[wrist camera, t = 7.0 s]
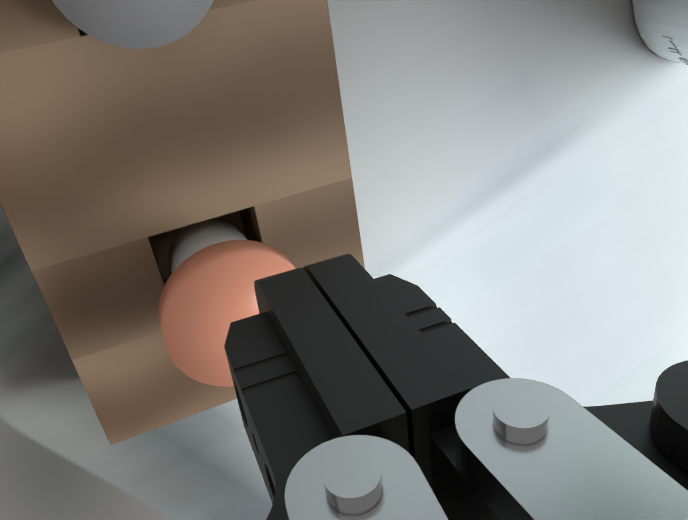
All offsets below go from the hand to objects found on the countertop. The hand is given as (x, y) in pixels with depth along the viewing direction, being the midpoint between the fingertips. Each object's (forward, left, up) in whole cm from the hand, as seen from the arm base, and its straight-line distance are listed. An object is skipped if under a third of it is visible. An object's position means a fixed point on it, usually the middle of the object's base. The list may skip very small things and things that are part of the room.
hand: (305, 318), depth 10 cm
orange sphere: (+5, +3, -15) cm, 16 cm away
